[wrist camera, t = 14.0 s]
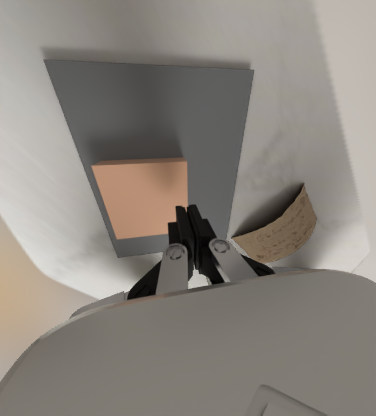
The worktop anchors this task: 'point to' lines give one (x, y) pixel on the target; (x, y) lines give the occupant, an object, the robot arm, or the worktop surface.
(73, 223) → the worktop surface
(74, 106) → the mat
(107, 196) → the block
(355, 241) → the worktop surface
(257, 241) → the cork arch piece
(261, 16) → the worktop surface
